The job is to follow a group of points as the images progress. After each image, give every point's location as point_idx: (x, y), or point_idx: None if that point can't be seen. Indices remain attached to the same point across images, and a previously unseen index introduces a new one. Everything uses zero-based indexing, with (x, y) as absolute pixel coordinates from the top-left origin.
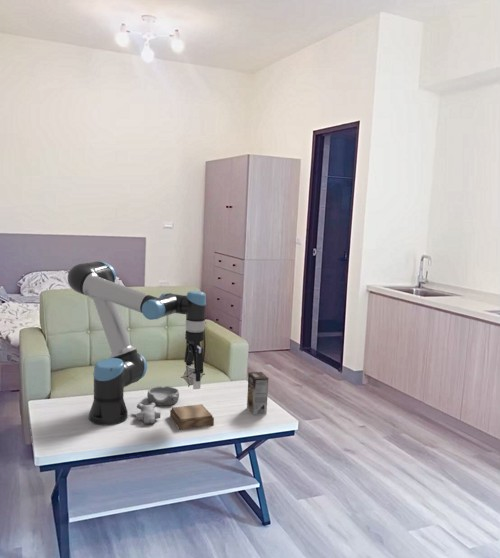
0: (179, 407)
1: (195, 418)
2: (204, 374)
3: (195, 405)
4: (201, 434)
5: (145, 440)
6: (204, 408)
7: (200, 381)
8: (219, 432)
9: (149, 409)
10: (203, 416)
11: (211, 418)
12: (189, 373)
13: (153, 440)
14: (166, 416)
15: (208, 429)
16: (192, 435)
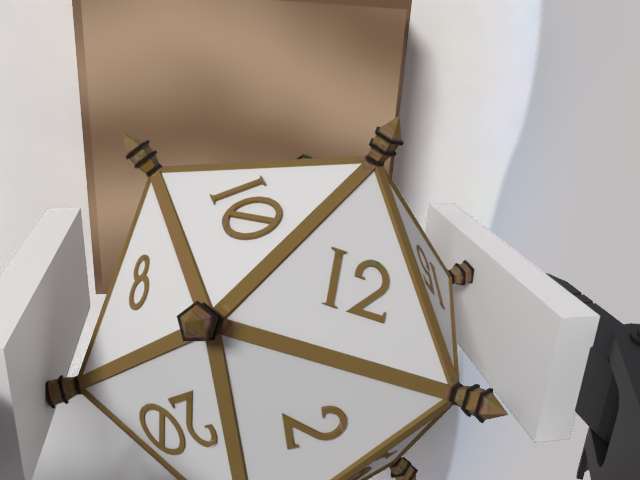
0: (117, 233)
1: (386, 169)
2: (395, 133)
3: (102, 70)
4: (494, 150)
5: (421, 460)
6: (211, 10)
7: (506, 244)
8: (525, 10)
9: (116, 460)
10: (394, 98)
11: (408, 22)
12: (389, 457)
13: (439, 426)
14: (93, 291)
15: (442, 70)
16: (480, 212)
